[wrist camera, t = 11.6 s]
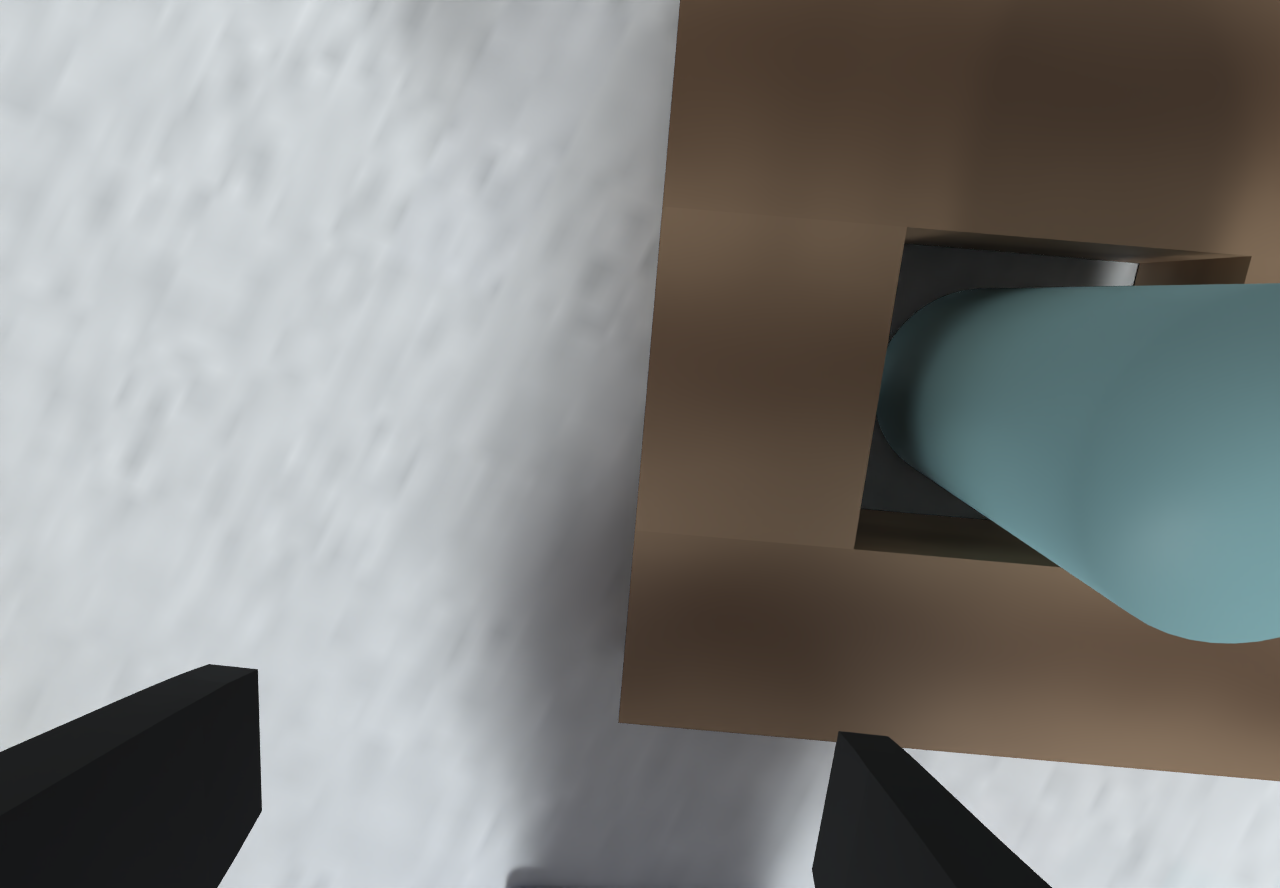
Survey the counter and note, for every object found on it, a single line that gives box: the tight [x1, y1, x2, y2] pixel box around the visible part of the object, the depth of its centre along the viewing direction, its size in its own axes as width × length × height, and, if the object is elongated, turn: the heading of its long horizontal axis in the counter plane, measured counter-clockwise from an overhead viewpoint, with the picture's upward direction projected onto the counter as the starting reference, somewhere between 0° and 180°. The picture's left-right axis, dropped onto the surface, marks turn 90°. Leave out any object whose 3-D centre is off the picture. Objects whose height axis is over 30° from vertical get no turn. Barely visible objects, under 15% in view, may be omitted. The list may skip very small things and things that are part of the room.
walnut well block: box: [618, 0, 1280, 781], centre depth 15 cm, size 16×16×3 cm
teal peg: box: [876, 283, 1280, 644], centre depth 12 cm, size 5×5×8 cm
